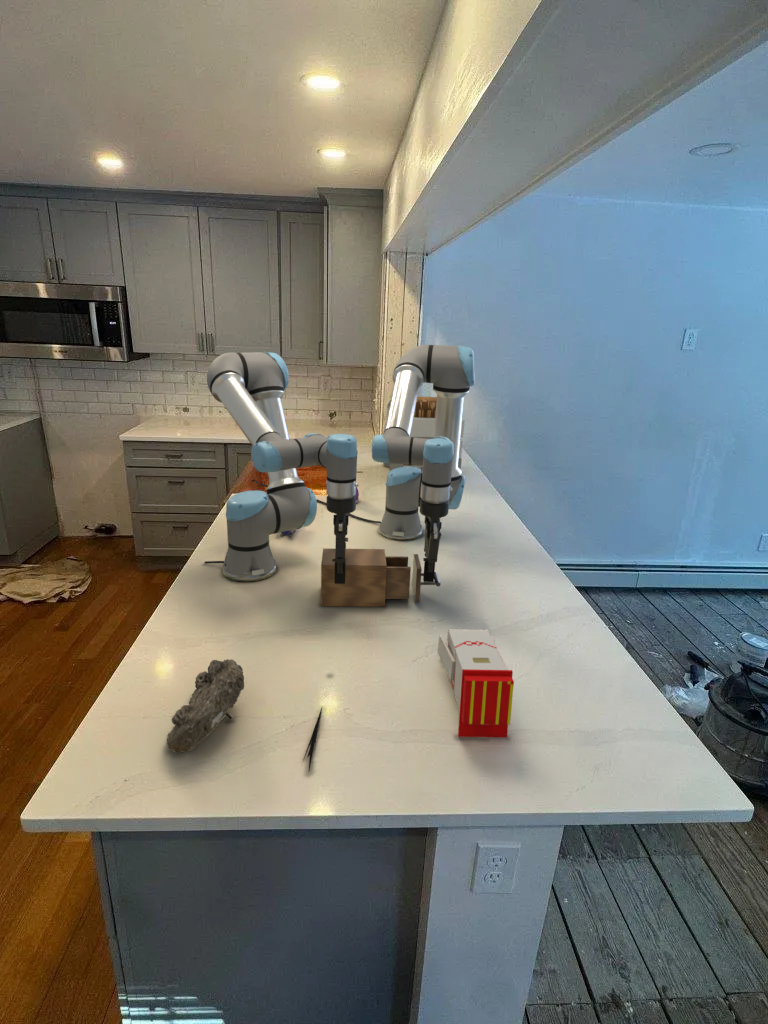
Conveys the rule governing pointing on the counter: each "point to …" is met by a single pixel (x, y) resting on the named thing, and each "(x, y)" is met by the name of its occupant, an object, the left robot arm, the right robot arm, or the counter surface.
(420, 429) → the grey box
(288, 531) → the figurine character
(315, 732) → the feather
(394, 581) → the drawer
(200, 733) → the fossil
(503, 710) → the toy
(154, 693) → the counter surface
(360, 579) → the cabinet
